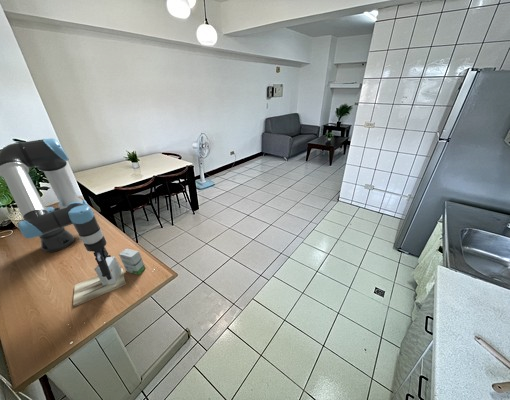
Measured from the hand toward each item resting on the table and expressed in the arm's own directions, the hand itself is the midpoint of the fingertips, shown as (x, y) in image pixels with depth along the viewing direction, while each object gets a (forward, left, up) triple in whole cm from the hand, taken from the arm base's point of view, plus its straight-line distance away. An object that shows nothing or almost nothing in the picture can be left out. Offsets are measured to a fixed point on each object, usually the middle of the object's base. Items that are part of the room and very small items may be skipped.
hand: (111, 275), depth 103 cm
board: (0, -5, -3) cm, 6 cm away
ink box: (-1, +10, -3) cm, 11 cm away
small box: (0, 0, -2) cm, 2 cm away
